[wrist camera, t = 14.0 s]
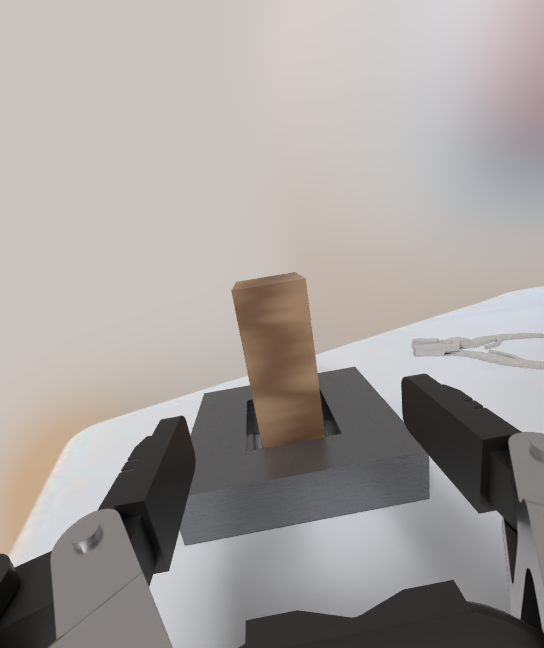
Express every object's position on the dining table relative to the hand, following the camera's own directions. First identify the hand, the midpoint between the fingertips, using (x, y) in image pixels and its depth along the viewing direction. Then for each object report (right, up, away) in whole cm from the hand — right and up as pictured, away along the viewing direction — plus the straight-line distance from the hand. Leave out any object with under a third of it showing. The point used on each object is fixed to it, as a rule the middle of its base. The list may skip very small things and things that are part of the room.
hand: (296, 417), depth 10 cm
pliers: (+25, 0, +24) cm, 35 cm away
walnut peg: (+1, -7, +12) cm, 14 cm away
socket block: (+1, -7, +12) cm, 14 cm away
